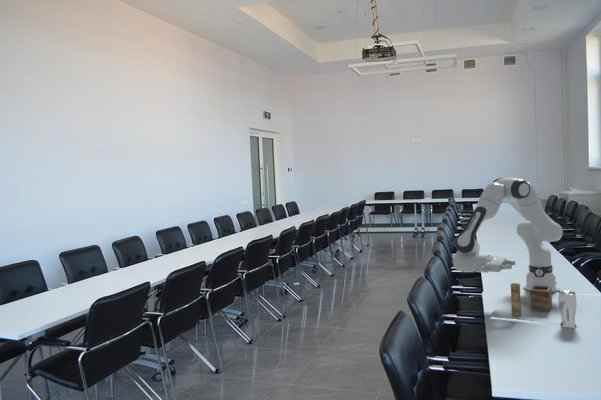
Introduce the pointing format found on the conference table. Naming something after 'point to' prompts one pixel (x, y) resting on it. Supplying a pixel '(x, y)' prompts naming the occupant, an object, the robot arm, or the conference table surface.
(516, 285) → the dowel
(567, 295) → the beer glass
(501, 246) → the conference table surface
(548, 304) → the socket block
